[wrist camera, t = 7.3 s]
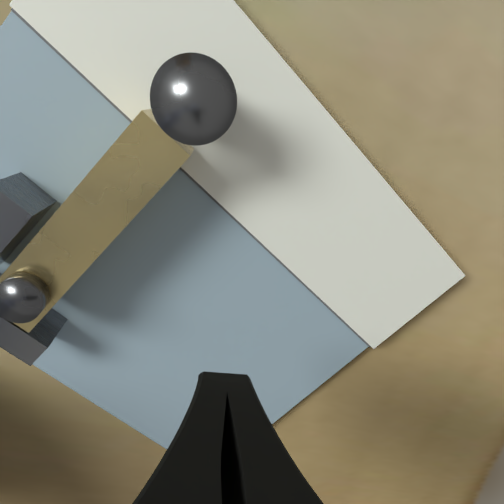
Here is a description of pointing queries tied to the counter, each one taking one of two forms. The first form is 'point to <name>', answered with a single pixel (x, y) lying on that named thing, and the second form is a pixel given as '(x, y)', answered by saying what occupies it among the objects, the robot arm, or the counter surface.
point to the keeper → (3, 244)
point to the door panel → (207, 216)
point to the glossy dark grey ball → (193, 98)
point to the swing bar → (90, 219)
